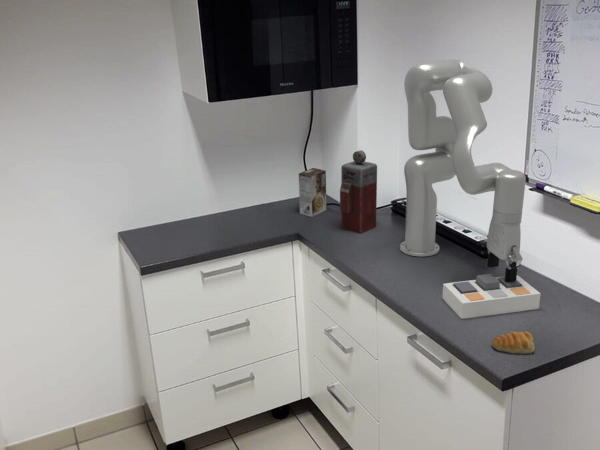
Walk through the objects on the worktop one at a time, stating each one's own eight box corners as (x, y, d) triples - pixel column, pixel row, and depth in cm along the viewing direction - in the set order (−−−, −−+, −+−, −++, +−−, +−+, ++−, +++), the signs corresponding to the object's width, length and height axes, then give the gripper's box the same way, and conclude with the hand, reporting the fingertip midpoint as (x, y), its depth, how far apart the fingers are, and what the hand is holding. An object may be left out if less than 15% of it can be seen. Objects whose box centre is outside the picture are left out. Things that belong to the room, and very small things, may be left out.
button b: (475, 287, 177) (476, 275, 176) (489, 285, 178) (490, 273, 177) (484, 295, 173) (485, 283, 171) (498, 293, 173) (500, 281, 172)
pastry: (496, 356, 151) (497, 341, 149) (487, 341, 157) (488, 327, 156) (536, 354, 151) (538, 340, 149) (526, 340, 157) (527, 326, 156)
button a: (453, 295, 177) (453, 283, 175) (467, 293, 177) (468, 281, 176) (461, 303, 172) (462, 291, 171) (476, 301, 173) (476, 289, 171)
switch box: (442, 298, 178) (443, 283, 176) (515, 289, 182) (517, 274, 180) (461, 319, 167) (462, 302, 165) (538, 308, 171) (540, 292, 169)
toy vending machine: (336, 229, 229) (336, 152, 219) (357, 221, 236) (357, 146, 227) (356, 235, 223) (357, 156, 213) (376, 227, 231) (377, 150, 221)
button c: (496, 289, 179) (497, 277, 178) (510, 287, 180) (511, 276, 179) (506, 297, 174) (507, 285, 173) (520, 296, 175) (521, 284, 174)
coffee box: (313, 207, 252) (313, 167, 246) (327, 210, 248) (326, 170, 243) (299, 213, 246) (297, 172, 240) (312, 217, 242) (311, 175, 236)
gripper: (479, 206, 181) (474, 262, 187) (510, 228, 165) (504, 288, 171) (503, 204, 182) (498, 260, 189) (537, 225, 167) (530, 285, 173)
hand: (501, 273), depth 180 cm, fingers open, 9 cm apart
